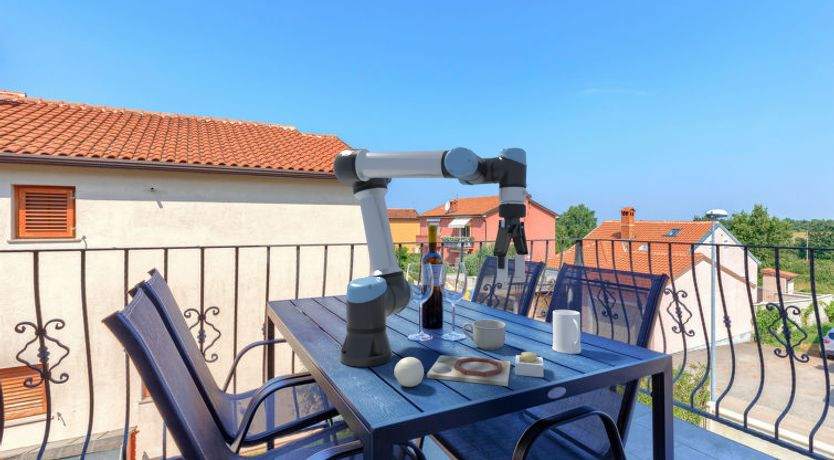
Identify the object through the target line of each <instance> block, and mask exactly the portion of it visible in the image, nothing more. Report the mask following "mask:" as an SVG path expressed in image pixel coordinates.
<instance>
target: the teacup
mask: <svg viewBox="0 0 834 460" xmlns="http://www.w3.org/2000/svg"><path fill="white" fill-rule="evenodd" d="M461 327H462V332H463V334H464V335H465V336H467V337H468V338H470V340H471V341H473V343H474V344H475V345H476V346H477V347H478V348H479V349H482V350H487V351H494V350H495V351H496V350H498V349H500V348H501V347H503V345H504V344H505V342H506V327H507V324H506V323H505V322H504V321H501V320H498V319H490V318H488V319H486V318H485V319H483V318H482V319H477V320H474V321H473V322H465V323H463V325H462V326H461ZM467 327H470V331H472V334H471V333H469V332H467V329H466V328H467Z"/></svg>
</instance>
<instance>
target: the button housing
mask: <svg viewBox="0 0 834 460" xmlns="http://www.w3.org/2000/svg"><path fill="white" fill-rule="evenodd" d="M514 370H515V371H514V373H515V376H523V377H524V376H525V377H526V376H527V377H536V378H537V377H538V378H544V360H543V357H541V356H537V362H533V363H530V362H524V361H522V360H521V354H519V355H518V354H515V362H514Z"/></svg>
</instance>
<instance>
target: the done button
mask: <svg viewBox="0 0 834 460" xmlns="http://www.w3.org/2000/svg"><path fill="white" fill-rule="evenodd" d="M520 355H521V360H522V361H524V362H530V363H533V362H537V357H538V354H537V353H536V352H532V351H523V352H521V354H520Z"/></svg>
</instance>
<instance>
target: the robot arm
mask: <svg viewBox="0 0 834 460" xmlns="http://www.w3.org/2000/svg"><path fill="white" fill-rule="evenodd" d="M527 167H528V164H527V152H526V150H524V148H520V147H506V148H502V149H500V151H499V154H498V156H496V157H486V158H485V157H483V158H482V157H480V156H479V155H477V154H476V153H475V152H474V151H472V150H471V149H469V148H467V147H463V146H456V147H453V148H452V149H450V150H448V149H447V150H407V151H406V150H405V151H370V150H369V149H367V148H347V149H344V150H342V151H340V152H339V153H338V154H337V155H336V157H335V158H334V161H333V173H334V176H335V178H336V179H337V180H338V181H339V182H340V183H342V184H343V185H345V186H350V187H351V188H352V192H353V197H354V198H355V199H356V200H358V201H359V207H360V211H361V217H362V222H363V228H364V229H363V230H364V235H365V240H366V246H367V251H368V257H369V263H370V268H371V272H370V273H369V275H368V276H366V277H365V276H364V277H358V278H355V279H353V280H350V282H348V284H347V286H346V293H345V299H346V334H345V337H344V339H343V343H342V347H341V350H340V353H339V354H340V357H339V358H340V360H339V361H340V362H341V363H342V364H343V365H347V366H351V367H356V368H358V367H359V368H360V367H361V368H362V367H365V368H367V367H376V366H380V365H385V364H386V363H389V362H390V361H392V359H393V349H392V346H391V343H390V339H389V337H388V333H387V317H390V316H392V315H395V314H396V315H397V314H399V313H401V312H402V311H404V310H406V309H407V308H408V307H409V306H410V304H411V302H412V299H413V292H414V291H413V287H412V285H411V283H410V282H409V281H408V280H407V278H405V274H404V270H403V269H402V268H401V267H399V266H398V261H397V258H396V257H397V256H396V252H395V246H394V242H393V241H394V240H393V235H392V230H391V225H390V220H389V219H390V218H389V214H388V208H387V202H386V199H385V197H386V195H387V193H388V192H389V188H388V186H389V182H390V181H391V179H450V180H451V179H457V180H458V182H459V183H460V184H461V185H463V186H474V185H490V184H491V185H492V184H494V185H497V184H498V202H499V205H498V217H499V218H502V219H499V220H498V228H497V233H496V238H495V243H494V246H493V247H494V248H493V253H492V254H493V257H496V258H497V259H496V263H497V264H496V281H497V282H508V276H509V275H508V273H509V272H508V271H509V269H508V267H509V257H508V251H509V249H510V246H511V242H512V243H513V246H514V249H515V252H516V254H515V255H514V257H515V258H514V262H515V263H514V278H515V277H517V278H525V277H526V275H525V274H526V256H528V255H529V250H528V243H527V236H526V231H525V221H521V219H522V218H523V219H524V218H526V217H527V205H526V204H525V203H526V202H527V195H528V194H529V192H528V190H527Z"/></svg>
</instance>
